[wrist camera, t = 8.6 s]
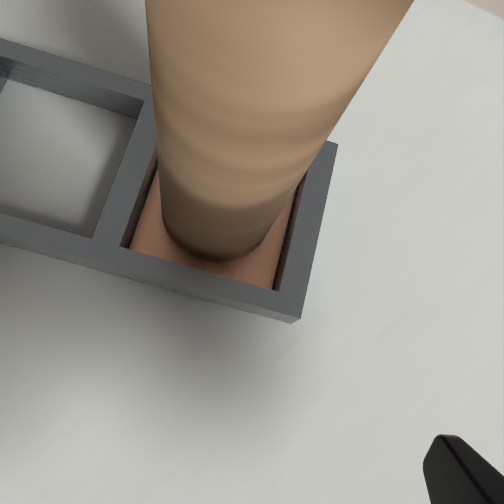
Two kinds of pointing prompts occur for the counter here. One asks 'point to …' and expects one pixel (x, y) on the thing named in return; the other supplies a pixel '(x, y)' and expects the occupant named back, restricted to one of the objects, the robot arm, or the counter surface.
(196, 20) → the post
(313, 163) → the grey divided tray
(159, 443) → the counter surface
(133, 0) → the counter surface
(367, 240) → the counter surface
